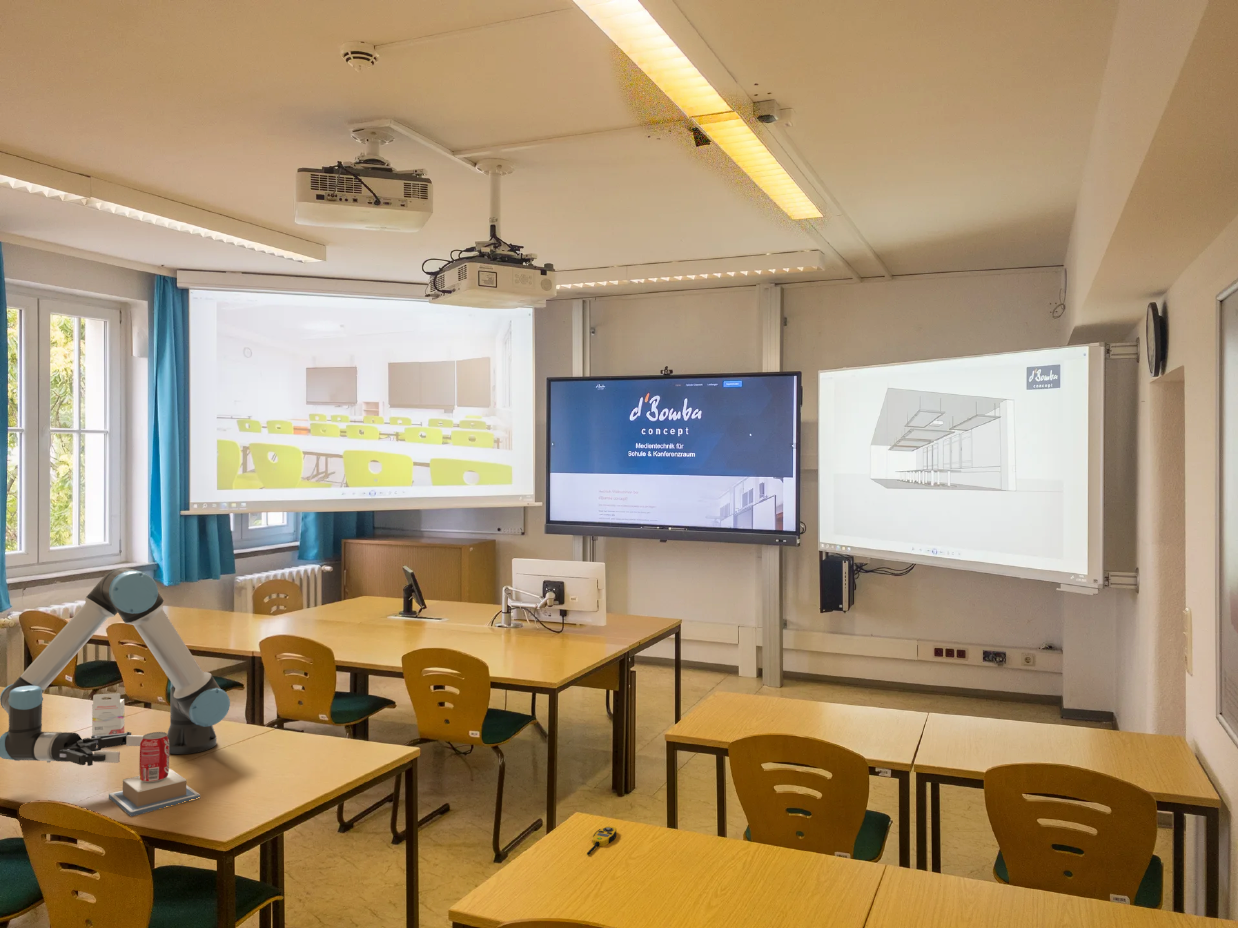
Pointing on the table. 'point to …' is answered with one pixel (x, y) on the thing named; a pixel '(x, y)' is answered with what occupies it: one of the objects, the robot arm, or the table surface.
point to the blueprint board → (152, 794)
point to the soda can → (154, 757)
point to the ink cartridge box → (107, 714)
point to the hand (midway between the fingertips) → (135, 748)
